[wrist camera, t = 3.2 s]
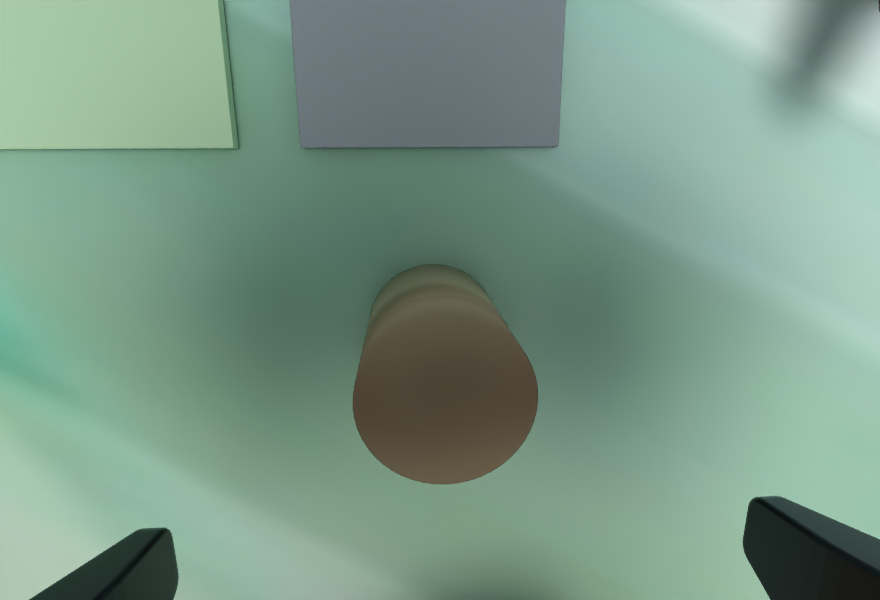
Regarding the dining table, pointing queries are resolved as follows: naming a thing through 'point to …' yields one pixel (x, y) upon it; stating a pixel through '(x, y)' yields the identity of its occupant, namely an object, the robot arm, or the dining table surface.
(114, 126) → the pad
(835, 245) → the dining table surface
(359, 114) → the pad
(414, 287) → the brown wooden dowel
